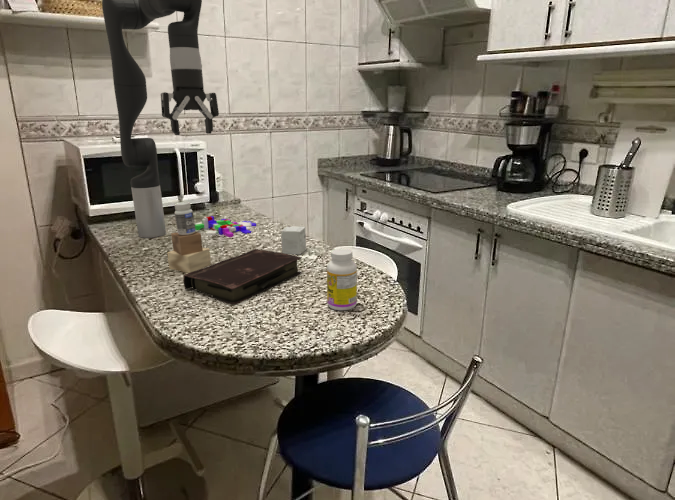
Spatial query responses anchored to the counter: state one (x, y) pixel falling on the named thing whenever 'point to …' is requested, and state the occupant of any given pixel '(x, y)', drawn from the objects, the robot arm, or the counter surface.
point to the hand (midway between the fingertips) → (193, 134)
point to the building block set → (223, 226)
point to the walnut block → (186, 243)
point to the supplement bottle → (341, 280)
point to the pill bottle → (184, 218)
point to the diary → (243, 275)
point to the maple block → (189, 260)
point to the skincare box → (293, 240)
